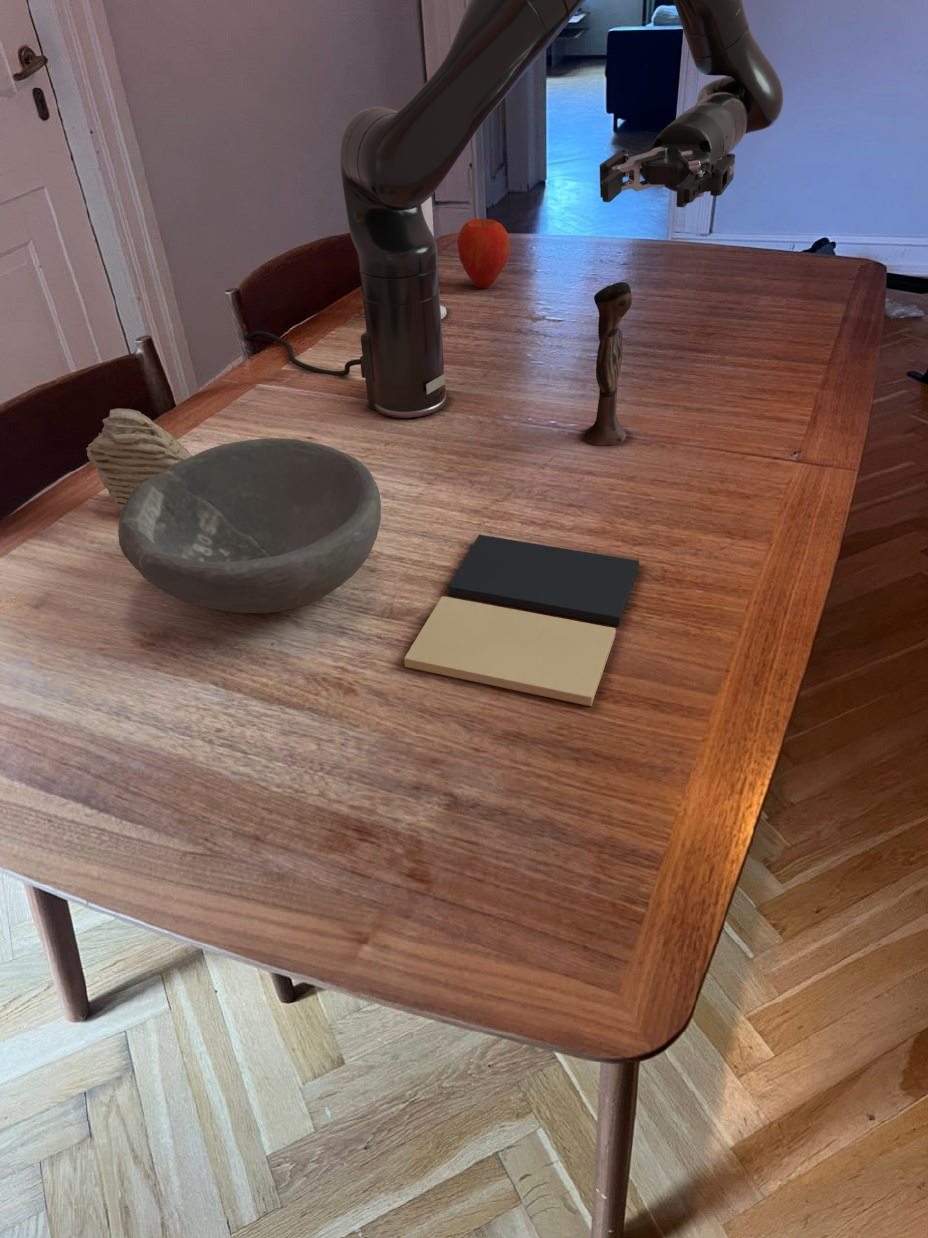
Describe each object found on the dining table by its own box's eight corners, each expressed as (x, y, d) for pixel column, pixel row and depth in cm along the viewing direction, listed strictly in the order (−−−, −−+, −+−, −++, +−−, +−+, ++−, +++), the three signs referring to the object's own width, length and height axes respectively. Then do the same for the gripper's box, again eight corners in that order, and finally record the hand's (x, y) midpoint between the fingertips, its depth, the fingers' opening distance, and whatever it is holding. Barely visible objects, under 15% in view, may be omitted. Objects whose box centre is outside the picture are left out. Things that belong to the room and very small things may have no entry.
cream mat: (404, 667, 74) (403, 658, 74) (442, 604, 81) (441, 595, 80) (591, 706, 70) (591, 697, 69) (615, 636, 76) (616, 627, 76)
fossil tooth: (212, 540, 93) (88, 511, 96) (240, 507, 98) (120, 480, 100) (193, 446, 85) (58, 417, 88) (225, 414, 90) (95, 388, 93)
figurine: (616, 455, 101) (628, 297, 90) (574, 449, 103) (580, 293, 92) (631, 427, 107) (644, 274, 95) (591, 421, 108) (599, 271, 97)
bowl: (280, 695, 72) (257, 598, 66) (97, 612, 82) (61, 520, 76) (435, 554, 87) (428, 464, 81) (264, 497, 97) (246, 413, 91)
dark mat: (448, 594, 82) (447, 586, 81) (479, 542, 89) (479, 534, 88) (618, 626, 77) (619, 617, 77) (638, 568, 84) (639, 560, 83)
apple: (519, 282, 149) (519, 214, 142) (493, 298, 144) (492, 227, 137) (476, 275, 153) (474, 208, 146) (449, 290, 148) (445, 221, 141)
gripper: (638, 109, 105) (580, 155, 96) (757, 112, 99) (708, 160, 90) (637, 176, 110) (582, 225, 101) (751, 182, 104) (704, 235, 95)
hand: (641, 195), depth 95 cm, fingers open, 8 cm apart
